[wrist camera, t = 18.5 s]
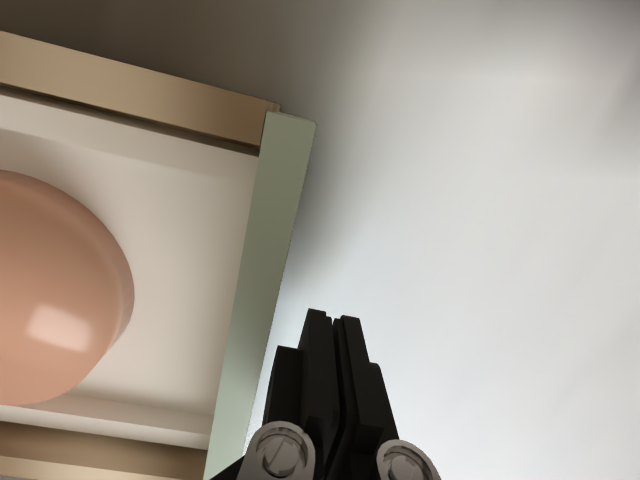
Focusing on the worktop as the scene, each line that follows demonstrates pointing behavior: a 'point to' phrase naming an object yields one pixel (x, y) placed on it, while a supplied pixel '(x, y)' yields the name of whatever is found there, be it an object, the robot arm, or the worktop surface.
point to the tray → (170, 265)
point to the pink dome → (55, 290)
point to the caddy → (149, 106)
